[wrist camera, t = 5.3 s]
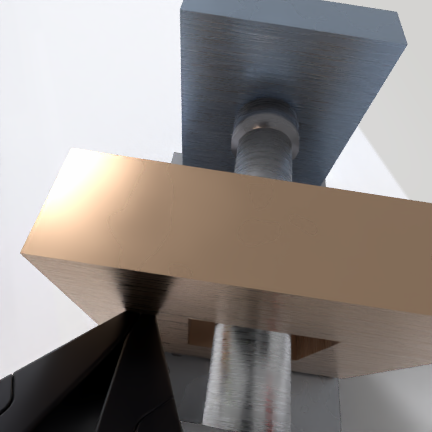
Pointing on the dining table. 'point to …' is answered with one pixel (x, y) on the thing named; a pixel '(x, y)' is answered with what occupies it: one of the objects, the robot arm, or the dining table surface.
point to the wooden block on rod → (242, 260)
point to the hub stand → (271, 169)
